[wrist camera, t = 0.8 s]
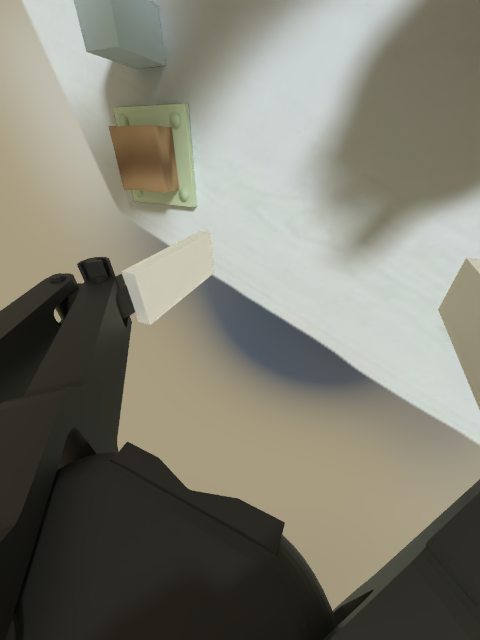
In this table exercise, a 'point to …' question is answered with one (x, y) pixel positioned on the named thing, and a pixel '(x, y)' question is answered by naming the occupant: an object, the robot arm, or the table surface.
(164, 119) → the plate
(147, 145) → the base brick
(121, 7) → the column brick
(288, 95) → the table surface
